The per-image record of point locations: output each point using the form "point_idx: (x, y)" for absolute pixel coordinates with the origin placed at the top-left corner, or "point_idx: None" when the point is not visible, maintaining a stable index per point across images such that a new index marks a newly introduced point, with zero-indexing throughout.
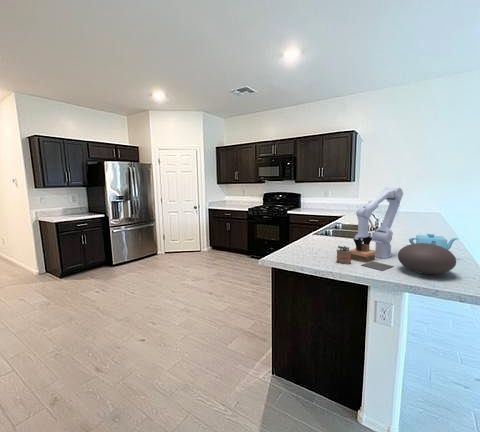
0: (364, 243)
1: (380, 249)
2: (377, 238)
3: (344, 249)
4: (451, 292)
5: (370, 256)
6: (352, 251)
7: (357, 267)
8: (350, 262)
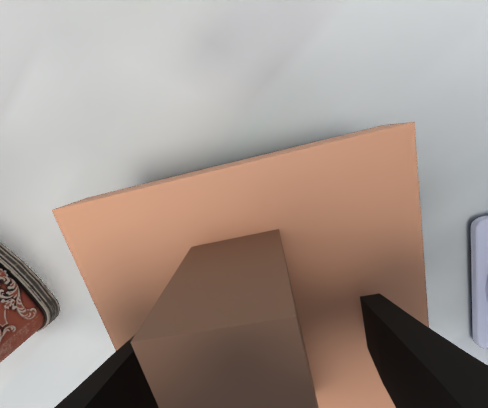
0: (435, 402)
1: None
2: None
3: None
4: None
5: None
6: (89, 279)
7: (52, 392)
8: (36, 330)
